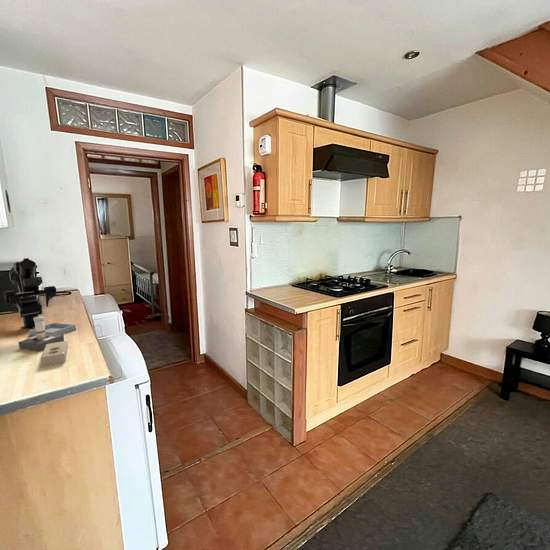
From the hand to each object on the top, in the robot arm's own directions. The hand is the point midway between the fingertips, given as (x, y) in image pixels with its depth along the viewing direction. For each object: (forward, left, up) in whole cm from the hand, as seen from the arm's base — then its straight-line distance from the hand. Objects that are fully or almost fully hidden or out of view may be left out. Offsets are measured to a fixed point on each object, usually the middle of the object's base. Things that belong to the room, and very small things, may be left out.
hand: (35, 308), depth 137 cm
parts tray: (0, +7, -14) cm, 15 cm away
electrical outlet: (+28, -15, -14) cm, 35 cm away
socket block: (+11, -7, -14) cm, 19 cm away
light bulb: (+11, -7, -14) cm, 19 cm away
